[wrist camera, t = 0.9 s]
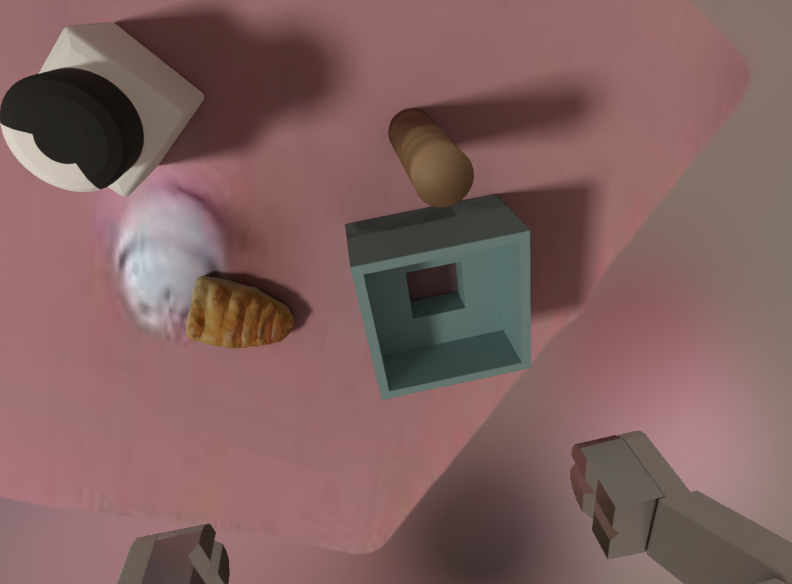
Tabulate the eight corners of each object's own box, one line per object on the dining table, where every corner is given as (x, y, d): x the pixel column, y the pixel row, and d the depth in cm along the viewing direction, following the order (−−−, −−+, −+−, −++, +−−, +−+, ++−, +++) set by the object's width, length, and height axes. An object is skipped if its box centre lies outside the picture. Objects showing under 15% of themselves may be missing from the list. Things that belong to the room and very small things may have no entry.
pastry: (300, 288, 45) (299, 311, 42) (286, 345, 48) (284, 370, 45) (194, 268, 42) (184, 291, 39) (187, 329, 45) (177, 354, 42)
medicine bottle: (112, 19, 32) (16, 27, 22) (207, 95, 35) (163, 133, 25) (62, 103, 34) (-47, 146, 24) (156, 168, 37) (96, 230, 27)
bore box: (345, 224, 42) (350, 267, 35) (496, 193, 42) (530, 230, 36) (372, 344, 49) (381, 400, 42) (501, 317, 50) (530, 367, 43)
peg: (385, 113, 38) (410, 154, 27) (429, 104, 38) (471, 142, 28) (392, 158, 39) (418, 212, 29) (434, 149, 40) (475, 201, 29)
